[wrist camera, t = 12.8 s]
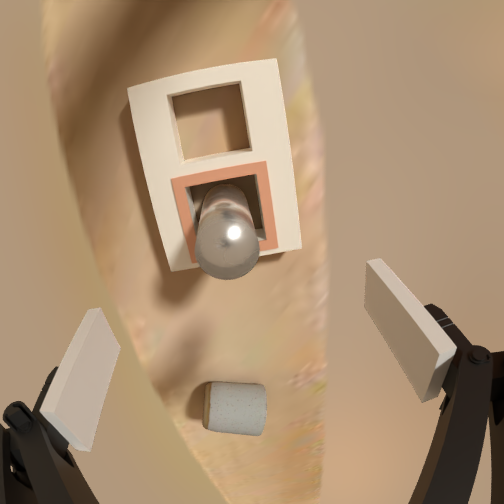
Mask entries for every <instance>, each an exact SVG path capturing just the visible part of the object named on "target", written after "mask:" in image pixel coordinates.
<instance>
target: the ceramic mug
mask: <svg viewBox="0 0 504 504" xmlns="http://www.w3.org/2000/svg"><path fill="white" fill-rule="evenodd" d="M266 412H267V397H266V390H265V387H264V385H262V384H244V383H228V382H211V383H208V384H207V385H206V388H205V397H204V407H203V422H202V424H203V427H204V428H205V429H208V430H211V431H215V432H222V433H233V434H241V435H251V436H260V435H261V434H262V432H263V429H264V426H265V422H266Z"/></svg>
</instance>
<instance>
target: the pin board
mask: <svg viewBox="0 0 504 504" xmlns="http://www.w3.org/2000/svg"><path fill="white" fill-rule="evenodd" d="M234 84H239V86H240V92H241V98H242V104H243V110H244V116H245V122H246V128H247V134H248V140H249V146H250V148H246V149H240V150H234V151H228V152H223V153H217V154H212V155H207V156H202V157H197V158H192V159H188V160H184V158H183V153H182V148H181V143H180V138H179V133H178V128H177V123H176V117H175V112H174V107H173V101H172V97H173V96H177V95H182V94H186V93H191V92H196V91H201V90H206V89H211V88H216V87H222V86H228V85H234ZM127 91H128V97H129V102H130V108H131V113H132V118H133V123H134V128H135V133H136V138H137V142H138V147H139V151H140V156H141V160H142V165H143V169H144V173H145V177H146V182H147V186H148V190H149V194H150V198H151V202H152V206H153V209H154V213H155V217H156V221H157V224H158V228H159V232H160V235H161V239H162V242H163V246H164V249H165V253H166V256H167V259H168V263H169V266H170V269H171V272H175V271H180V270H186V269H191V268H197V267H200V266H199V264H198V262H197V260H196V257H195V243H196V237H197V232H198V222H197V217H196V213H195V209H194V204H193V200H192V195H191V191H190V186H193V185H198V184H203V183H208V182H213V181H219V180H224V179H229V178H235V177H240V176H246V175H252V174H254V177H255V183H256V189H257V196H258V202H259V208H260V215H261V221H262V228H261V229H256V230H255V231H256V234H257V238H258V241H259V246H260V254H259V256H263V255H269V254H274V253H280V252H285V251H291V250H296V249H301V248H302V244H301V234H300V224H299V215H298V206H297V197H296V189H295V180H294V172H293V164H292V157H291V149H290V142H289V135H288V128H287V121H286V114H285V107H284V101H283V94H282V88H281V82H280V76H279V70H278V64H277V58H276V59H266V60H258V61H250V62H242V63H235V64H229V65H223V66H217V67H211V68H206V69H201V70H196V71H191V72H186V73H182V74H177V75H173V76H169V77H165V78H161V79H157V80H153V81H149V82H146V83H142V84H139V85H135V86H132V87H128V88H127Z"/></svg>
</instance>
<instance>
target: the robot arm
mask: <svg viewBox="0 0 504 504" xmlns="http://www.w3.org/2000/svg"><path fill="white" fill-rule="evenodd" d="M364 307H365V309H366V310H367V312H368V314H369V315H370V317H371V318H372V320H373V322H374V323H375V325H376V326H377V328H378V330H379V331H380V333H381V334H382V336H383V338H384V339H385V341H386V342H387V344H388V346H389V347H390V349H391V351H392V352H393V354H394V355H395V357H396V359H397V361H398V362H399V364H400V366H401V367H402V369H403V371H404V373H405V374H406V376H407V378H408V379H409V381H410V383H411V384H412V386H413V388H414V390H415V392H416V393H417V395H418V397H419V398H420V400H421V402H422V403H423V402H426V401H428V400H430V399H433V398H435V397H438V395H439V393H440V390H441V388H443V389H444V391H445V393H446V396H445V398H444V400H443V402H442V404H441V406H440V408H439V409H440V410H441V413H440V417H439V420H438V424H437V427H436V431H435V434H434V437H433V440H432V443H431V447H430V450H429V453H428V456H427V458H426V461H425V464H424V467H423V469H422V472H421V475H420V477H419V480H418V482H417V485H416V487H415V490H414V492H413V494H412V497H411V499H410V501H409V503H408V504H468V501H469V498H470V495H471V492H472V488H473V485H474V481H475V477H476V474H477V470H478V465H479V461H480V457H481V452H482V447H483V442H484V437H485V431H486V425H487V419H488V417H489V427H490V440H491V467H492V483H491V504H504V351H501V352H494V353H490V351H489V350H487V349H486V348H484V347H482V346H477V345H472V344H471V343H470V342H469V341H468V340H467V338H466V337H465V336H464V335H463V333H462V332H461V331H460V330H459V329H458V328H457V326H456V325H455V324H453V322H452V321H451V320H450V319H449V318H448V316H447V315H446V314H445V313H444V312H443V311H442V309H440V308H438V307H437V306H435V305H433V304H429V305H426V306H423V305H422V304H421V303H420V302H419V301H418V299H417V298H416V297H415V296H414V295H413V294H412V293H411V291H410V290H409V289H408V288H407V287H406V286H405V285H404V284H403V282H402V281H401V280H400V279H399V278H398V277H397V276H396V275H395V274H394V272H393V271H392V270H391V269H390V268H389V267H388V266H387V265H386V264H385V263H384V262H383V260H381V258H378V259H374V260H369V261H366V284H365V304H364ZM120 349H121V348H120V346H119V344H118V342H117V340H116V338H115V336H114V334H113V332H112V330H111V328H110V326H109V324H108V322H107V320H106V318H105V316H104V314H103V311H102V309H101V308H93V309H88V311H87V313H86V314H85V316H84V318H83V320H82V322H81V324H80V326H79V327H78V330H77V331H76V333H75V335H74V337H73V339H72V341H71V343H70V345H69V347H68V349H67V351H66V353H65V356H64V357H63V360H62V361H61V364H60V366H59V367H55V368H54V369H53V370H52V372H51V373H50V374H49V376H48V377H47V379H46V382H45V385H44V386H43V388H42V391H41V393H40V395H39V397H38V399H37V402H36V404H35V406H34V409H33V411H32V412H31V411H30V409H29V408H28V407H27V406H26V405H25V404H24V403H23V402H21V401H16V402H13V403H11V404H10V405H9V406H8V407H7V408H6V409H5V411H4V414H3V420H4V422H5V423H6V424H7V425H8V426H9V427H10V428H8V429H5V428H4V427H3V426H2V425H1V424H0V504H99V502H98V501H97V499H96V497H95V496H94V494H93V493H92V491H91V489H90V487H89V486H88V484H87V482H86V481H85V479H84V477H83V475H82V473H81V471H80V470H79V468H78V466H77V464H76V462H75V460H74V458H73V456H72V454H71V453H70V451H69V450H68V449H67V448H68V445H69V443H70V444H71V445H72V446H73V447H74V448H75V449H76V450H80V451H88V452H91V449H92V445H93V441H94V437H95V433H96V429H97V426H98V422H99V418H100V414H101V411H102V407H103V403H104V400H105V397H106V393H107V390H108V387H109V383H110V380H111V377H112V374H113V370H114V367H115V364H116V361H117V358H118V355H119V352H120ZM10 465H11V466H12V467H13V472H11V468H10Z"/></svg>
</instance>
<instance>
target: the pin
mask: <svg viewBox="0 0 504 504" xmlns="http://www.w3.org/2000/svg"><path fill="white" fill-rule="evenodd" d="M259 254H260V246H259V241H258V238H257V234H256V231H255V227H254V224H253V220H252V217H251V213H250V210H249V206H248V203H247V199H246V197H245V195H244V193H243V192H242V191H241V190H240V189H239V188H238V187H236V186H234V185H231V184H219V185H217V186H214V187H213V188H211V189H210V190H209V191H208V192H207V194H206V195H205V198H204V201H203V206H202V211H201V216H200V221H199V226H198V232H197V237H196V243H195V257H196V260H197V262H198V264H199V266H200V267H201V268H202V270H203V271H204V272H206V273H207V274H208V275H210V276H212V277H215V278H218V279H223V280H231V279H236V278H239V277H242V276H244V275H245V274H247V273H248V272H249V271H251V270H252V268H253V267H254V266H255V265H256V263H257V261H258V258H259Z"/></svg>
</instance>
